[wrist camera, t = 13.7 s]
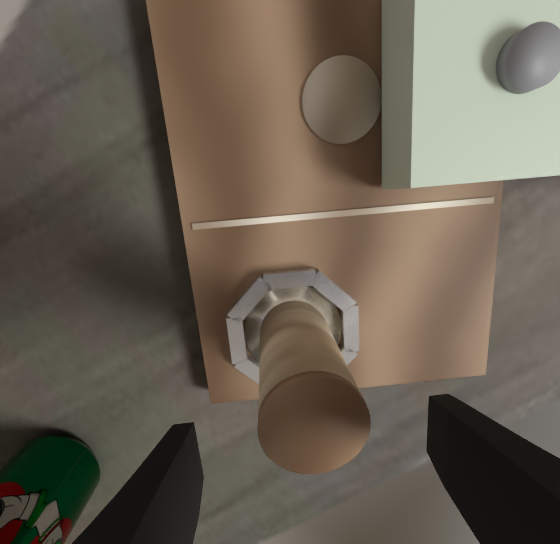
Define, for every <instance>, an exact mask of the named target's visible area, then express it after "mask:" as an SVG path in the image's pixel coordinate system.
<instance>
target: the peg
mask: <svg viewBox="0 0 560 544" xmlns="http://www.w3.org/2000/svg"><path fill="white" fill-rule="evenodd" d="M370 423H371V422H370V414H369V410H368V408H367V405H366V403H365V401H364V399H363V397H362V395H361V393H360V391H359V389H358V387H357V385H356V383H355V380H354V378H353V376H352V374H351V372H350V370H349V368H348V366H347V364H346V362H345V360H344V358H343V356H342V354H341V352H340V350H339V347H338V345H337V343H336V341H335V339H334V337H333V335H332V333H331V331H330V329H329V327H328V325H327V323H326V321H325V319H324V317H323V315H322V314H321V312H320V311H319V310H318V309H317V308H316V307H314V306H313V305H311V304H309V303H306V302H303V301H296V300H295V301H286V302H283V303H280V304H278V305H276V306H275V307H273V308H272V309H271V310H270V311H269V312H268V313H267V314H266V316H265V317H264V319H263V321H262V324H261V328H260V356H259V396H258V437H259V441H260V444H261V447H262V449H263V450H264V452H265V453H266V455H267V456H268V457H269V458H270V459H271V460H272V461H273V462H274V463H276V464H277V465H278V466H280V467H282V468H284V469H286V470H289V471H292V472H295V473H301V474H320V473H325V472H329V471H332V470H335V469H337V468H339V467H341V466H343V465H345V464H346V463H348V462H349V461H351V460H352V459H353V458H354V457H355V456H356V455H357V454H358V453H359V452H360V451H361V449H362V448H363V446H364V445H365V443H366V441H367V438H368V436H369V432H370Z"/></svg>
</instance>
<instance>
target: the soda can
mask: <svg viewBox="0 0 560 544" xmlns="http://www.w3.org/2000/svg"><path fill="white" fill-rule="evenodd" d="M99 479H100V469H99V464H98V461H97V458H96V456H95V454H94V453H93V451H92V450H91V449H90V448H89V447H88V446H87V445H86V444H85V443H83V442H82V441H80V440H78V439H75V438H73V437H69V436H63V435H52V436H45V437H40V438H37V439H34V440H31V441H29V442H28V443H26V444H25V445H23V446H22V447H21V448H20V449H19V450H18V451H17V452H16V453H15V454H14V455H13V456H12V457H11V458H10V459H9V460H8V462H7V463H6V464H5V465H4V466H3V467H2V468H1V469H0V544H64V543H65V541H66V540H67V538H68V536H69V534H70V533H71V531H72V529H73V527H74V526H75V524H76V522H77V520H78V518H79V517H80V515H81V513H82V511H83V510H84V508H85V506H86V504H87V503H88V501H89V499H90V497H91V496H92V494H93V492H94V490H95V489H96V487H97V485H98V482H99Z"/></svg>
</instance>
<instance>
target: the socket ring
mask: <svg viewBox="0 0 560 544" xmlns="http://www.w3.org/2000/svg"><path fill="white" fill-rule="evenodd" d="M310 286H313V287H314V288H312V287H310ZM269 290H270V291H269ZM295 300H296V301H303V302H306V303H309V304H311V305H313V306H314V307H316V308H317V309H318V310H319V311H320V312H321V314H322V315H323V317H324V319H325V321H326V323H327V325H328V327H329V329H330V331H331V333H332V335H333V337H334V339H335V341H336V343H337V345H338V344H339V341H340V338H341V342H342V344H341V345H340V346H339V350H340V352H341V354H342V356H343V358H344V360H345V362H346V364H347V365H348V364H349V363H350V362H351V361H352V360H353V359H354V358H355V357H356V356H357V355H358V354H357V352H356V351H359V317H358V305H357V304H356V303H357V302H356V301H355V300H354V299H353V298H352V297H351V296H350V295H349V294H347V293H346V292H345V291H344V290H343V289H341V288H340V287H339V286H338V285H337V284H335V283H334V282H333V281H332V280H331V279H329V278H328V277H327V276H326V275H325V274H323V273H322V272H321V271H320V270H319V269H318V268H317V269H316V270H315V268H314V267H310V268H300V269H289V270H278V271H268V272H263V276H262V275H261V274H259V275H258V276H257V278H256V279H255V280H254V281H253V282H252V284H251V285H250V286H249V287H248V288H247V289H246V291H245V292H244V293H243V294H242V295H241V296H240V298H239V299H238V300H237V301H236V302H235V304H234V305H233V306H232V307H231V308H230V309H229V311H228V314H227V317H226V322H227V329H228V337H229V344H230V351H231V359H232V364H235V365H234V367H235V368H236V369H237V370H239V371H240V372H242V373H243V374H245V375H246V376H247V377H249V378H250V379H252V380H253V381H255V382H256V383H257V384H259V356H260V328H261V324H262V321H263V319H264V317H265V316H266V314H267V313H268V312H269V311H270V310H271V309H272V308H273V307H275V306H276V305H278V304H280V303H283V302H286V301H295ZM333 303H334V304H335V305H336V306H337V307H339V308H340V315H341V319H340V315H339V313H338V310H337V309H336V307H335V305H334V304H333ZM247 315H248V316H247ZM246 316H247V319H246V324H245V329H244V321H243V320H244V319H245V317H246ZM246 343H247V345H246ZM247 346H248V348H249V350H250V352H251V354H252V355H253V357H254V358H253V357H252V356H251V355H249V354H248V353H247Z"/></svg>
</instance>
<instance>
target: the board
mask: <svg viewBox="0 0 560 544" xmlns="http://www.w3.org/2000/svg"><path fill="white" fill-rule="evenodd" d="M146 5H147V11H148V17H149V24H150V30H151V36H152V42H153V48H154V55H155V61H156V67H157V73H158V79H159V86H160V92H161V98H162V104H163V110H164V117H165V123H166V129H167V135H168V141H169V148H170V154H171V160H172V166H173V172H174V179H175V185H176V191H177V197H178V203H179V209H180V216H181V222H182V228H183V234H184V240H185V247H186V253H187V259H188V265H189V271H190V278H191V284H192V290H193V296H194V302H195V309H196V315H197V321H198V327H199V333H200V340H201V346H202V352H203V358H204V364H205V371H206V377H207V383H208V389H209V395H210V402H211V404H214V403H223V402H233V401H242V400H251V399H258V396H259V384H257V383H256V382H255V381H253V380H252V379H250V378H249V377H247V376H246V375H245V374H243V373H242V372H240V371H239V370H237V369H236V368H235V367H234V365H235V364H232V359H231V351H230V344H229V337H228V329H227V322H226V317H227V314H228V311H229V309H230V308H231V307H232V306H233V305H234V304H235V302H236V301H237V300H238V299H239V298H240V296H241V295H242V294H243V293H244V292H245V291H246V289H247V288H248V287H249V286H250V285H251V284H252V282H253V281H254V280H255V279H256V278H257V276H258V275H259V274H261V275H262V276H263V272H268V271H278V270H289V269H300V268H310V267H314V268H315V270H316V269H317V268H318V269H319V270H320V271H321V272H322V273H323V274H325V275H326V276H327V277H328V278H329V279H331V280H332V281H333V282H334V283H335V284H337V285H338V286H339V287H340V288H341V289H343V290H344V291H345V292H346V293H347V294H349V295H350V296H351V297H352V298H353V299H354V300H355V301H356V302H357V303H356V304H357V305H358V317H359V351H356V352H357V354H358V355H357V356H356V357H355V358H354V359H353V360H352V361H351V362H350V363H349V364H348V365H347V366H348V368H349V370H350V372H351V374H352V376H353V378H354V380H355V383H356V385H357V387H358V388H364V387H374V386H383V385H392V384H402V383H411V382H421V381H430V380H439V379H449V378H458V377H468V376H477V375H486V365H487V354H488V344H489V333H490V322H491V312H492V301H493V290H494V280H495V269H496V258H497V248H498V237H499V226H500V216H501V205H502V194H503V184H504V180H499V181H488V182H476V183H464V184H453V185H441V186H430V187H418V188H401V189H382V0H146ZM310 287H312V288H314V287H313V286H310ZM269 291H270V290H269ZM333 304H334V303H333ZM334 305H335V304H334ZM335 307H336V309H337V310H338V313H339V315H340V308H339V307H337V306H336V305H335ZM247 316H248V315H247ZM247 316H246V317H245V319H244V320H243V321H244V329H245V324H246V319H247ZM340 319H341V315H340ZM341 344H342V342H341V338H340V341H339V344H338V347H339V346H340V345H341ZM246 345H247V343H246ZM247 353H248V354H249V355H251V356H252V357H253V355H252V354H251V352H250V350H249V348H248V346H247ZM253 358H254V357H253Z"/></svg>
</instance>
